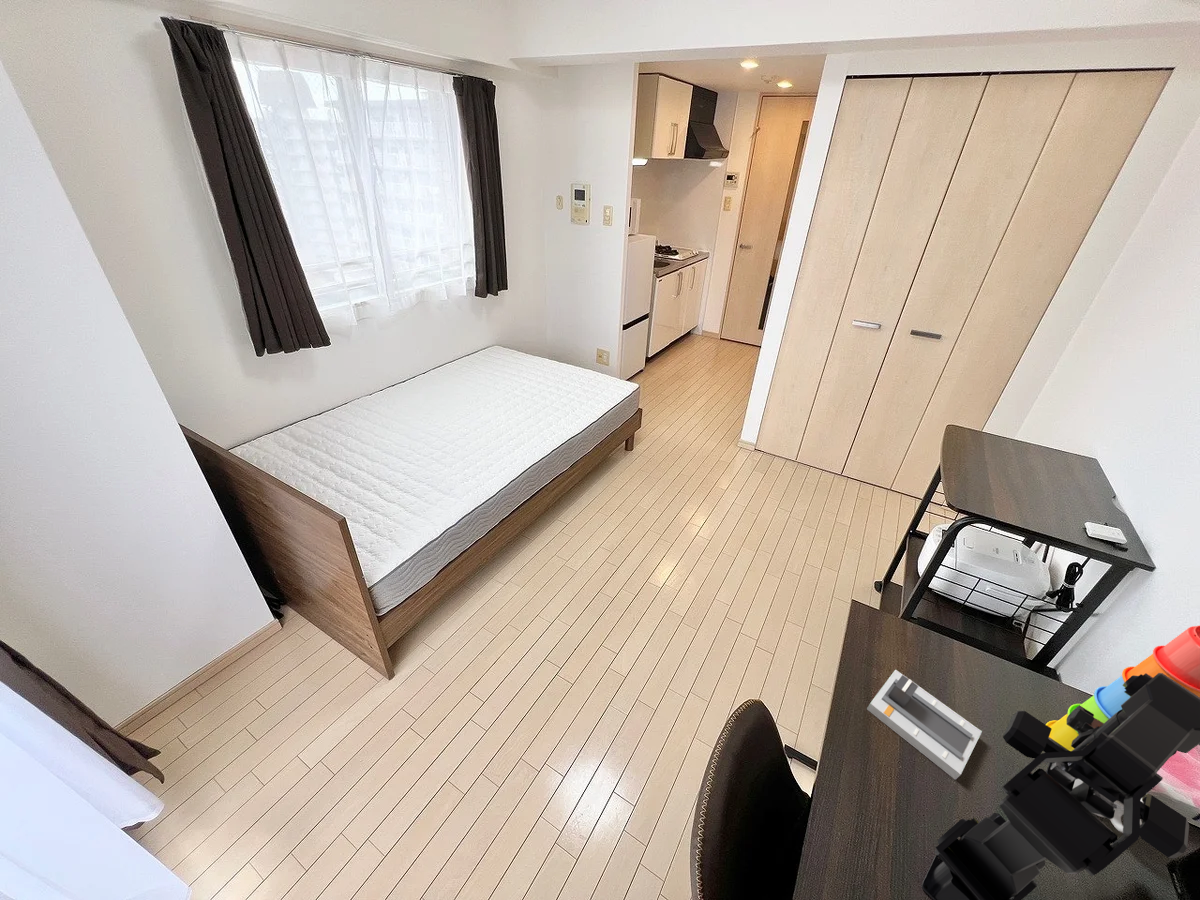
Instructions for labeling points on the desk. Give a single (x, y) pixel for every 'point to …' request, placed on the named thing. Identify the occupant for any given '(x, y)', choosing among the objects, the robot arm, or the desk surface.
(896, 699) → the fader knob
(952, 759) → the console board
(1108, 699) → the stacking cups
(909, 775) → the desk surface
